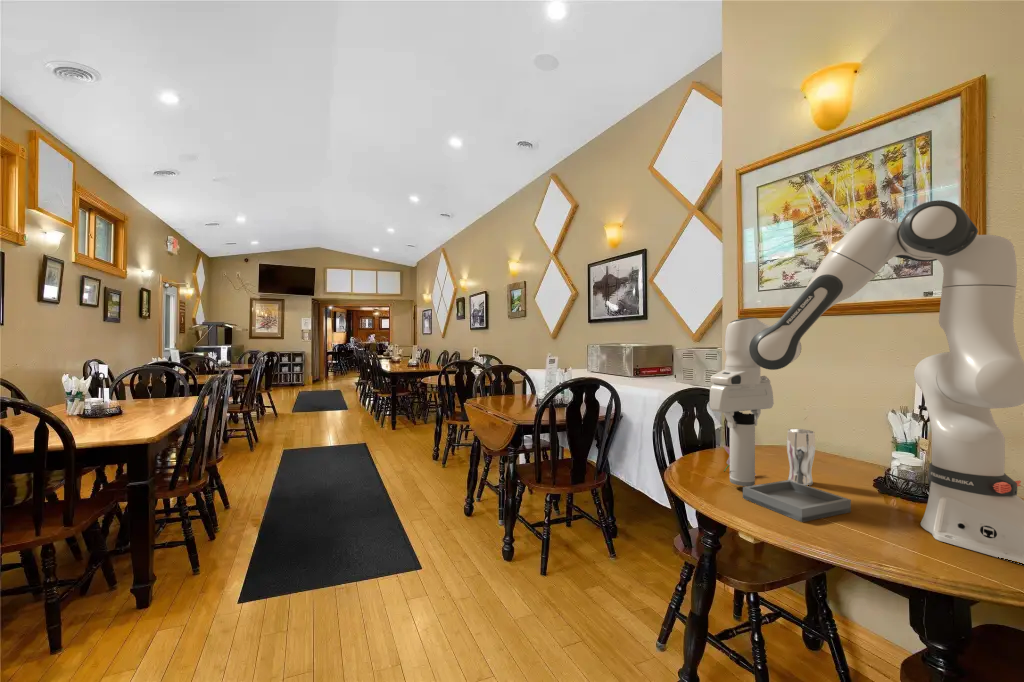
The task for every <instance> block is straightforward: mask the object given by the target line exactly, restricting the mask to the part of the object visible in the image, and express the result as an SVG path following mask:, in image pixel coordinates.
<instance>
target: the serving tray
mask: <svg viewBox="0 0 1024 682" xmlns="http://www.w3.org/2000/svg"><path fill="white" fill-rule="evenodd" d="M743 498H744V499H743ZM742 499H743V500H745V499H746V500H745V501H748V500H749V501H748V502H750V501H751V502H750V503H753V504H755V503H756V504H755V505H758V506H760V507H762V508H765V509H768V510H771V511H773V512H775V513H778V514H781V515H784V516H785V517H788V518H791V519H793V520H796V521H798V522H800V523H804V522H805V523H806V522H809V521H814V520H817V519H819V520H820V519H823V518H828V517H832V516H839V515H842V514H843V515H844V514H847V513H852V499H850V498H847V497H844V496H841V495H839V494H835V493H832V492H828V491H825V490H822V489H819V488H815V487H812V486H811V485H809V486H807V485H803V484H800V483H797V482H794V481H791V480H788V479H787V480H786V479H785V480H780V481H773V482H767V483H760V484H754V485H753V486H742Z"/></svg>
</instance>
